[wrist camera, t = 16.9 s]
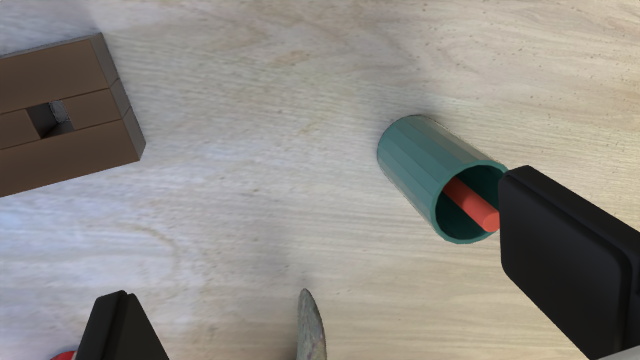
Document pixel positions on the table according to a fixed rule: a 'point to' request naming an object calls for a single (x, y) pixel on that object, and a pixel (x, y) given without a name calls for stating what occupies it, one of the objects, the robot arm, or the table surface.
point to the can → (438, 174)
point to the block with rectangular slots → (81, 107)
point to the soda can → (65, 356)
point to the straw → (472, 204)
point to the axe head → (310, 330)
